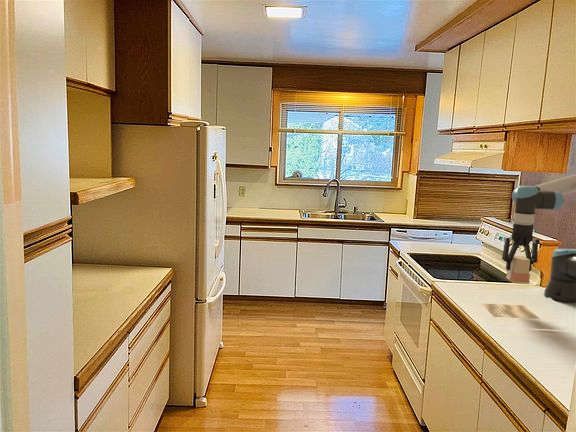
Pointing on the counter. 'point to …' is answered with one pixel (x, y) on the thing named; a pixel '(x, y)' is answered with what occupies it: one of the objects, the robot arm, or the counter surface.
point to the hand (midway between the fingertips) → (517, 278)
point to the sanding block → (520, 270)
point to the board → (509, 311)
